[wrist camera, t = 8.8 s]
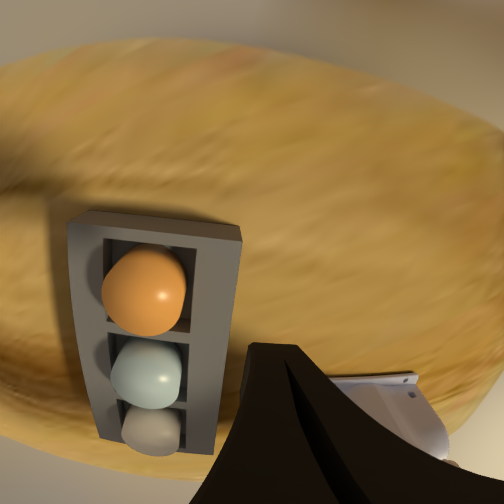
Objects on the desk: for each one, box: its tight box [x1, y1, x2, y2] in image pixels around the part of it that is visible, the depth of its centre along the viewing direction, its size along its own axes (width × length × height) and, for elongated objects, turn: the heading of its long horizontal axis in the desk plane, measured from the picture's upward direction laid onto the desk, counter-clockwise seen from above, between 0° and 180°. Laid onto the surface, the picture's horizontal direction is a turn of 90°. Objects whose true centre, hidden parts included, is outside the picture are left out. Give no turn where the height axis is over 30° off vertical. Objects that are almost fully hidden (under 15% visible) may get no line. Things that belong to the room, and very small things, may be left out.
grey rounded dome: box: [110, 336, 183, 409], centre depth 17 cm, size 4×4×3 cm
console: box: [67, 210, 243, 455], centre depth 18 cm, size 9×17×3 cm, turn 171°
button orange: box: [102, 243, 188, 336], centre depth 15 cm, size 4×4×3 cm
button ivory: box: [121, 403, 182, 456], centre depth 18 cm, size 4×4×3 cm
